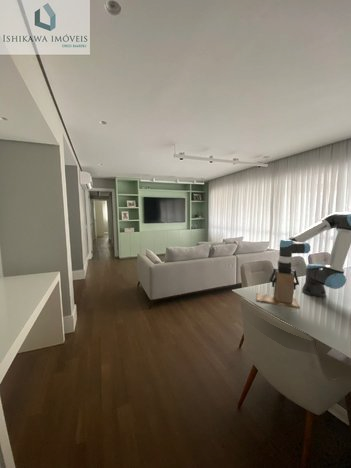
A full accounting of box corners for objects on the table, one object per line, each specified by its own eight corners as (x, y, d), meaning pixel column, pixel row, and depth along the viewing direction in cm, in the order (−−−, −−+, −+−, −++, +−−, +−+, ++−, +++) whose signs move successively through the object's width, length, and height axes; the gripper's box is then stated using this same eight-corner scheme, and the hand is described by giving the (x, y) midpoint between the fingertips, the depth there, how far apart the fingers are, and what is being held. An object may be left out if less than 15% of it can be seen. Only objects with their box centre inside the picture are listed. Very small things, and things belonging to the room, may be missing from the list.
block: (293, 303, 130) (295, 275, 128) (276, 302, 133) (278, 274, 131) (288, 297, 140) (289, 270, 138) (273, 296, 142) (274, 269, 140)
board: (295, 300, 139) (295, 298, 139) (299, 308, 127) (299, 306, 127) (256, 294, 149) (256, 292, 149) (256, 301, 137) (256, 299, 137)
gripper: (303, 262, 132) (301, 293, 135) (266, 259, 141) (264, 288, 144) (306, 264, 126) (303, 297, 128) (266, 261, 134) (265, 292, 137)
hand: (283, 292), depth 136 cm, fingers closed on block, 11 cm apart
